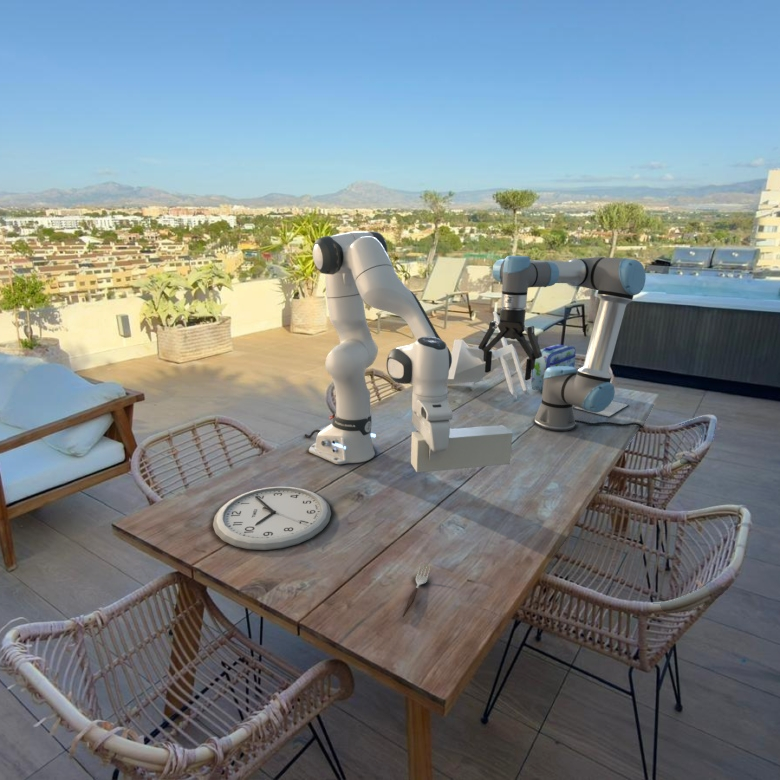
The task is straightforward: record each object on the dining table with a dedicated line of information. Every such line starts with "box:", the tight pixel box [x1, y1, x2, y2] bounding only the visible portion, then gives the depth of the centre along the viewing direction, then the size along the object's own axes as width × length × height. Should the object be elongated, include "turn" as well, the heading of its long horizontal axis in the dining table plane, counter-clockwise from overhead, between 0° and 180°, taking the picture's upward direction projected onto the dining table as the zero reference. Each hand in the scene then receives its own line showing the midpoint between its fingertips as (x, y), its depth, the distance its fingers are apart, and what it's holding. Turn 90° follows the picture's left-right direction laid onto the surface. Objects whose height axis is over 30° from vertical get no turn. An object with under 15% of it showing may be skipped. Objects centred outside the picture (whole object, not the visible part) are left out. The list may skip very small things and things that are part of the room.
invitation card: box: [573, 400, 629, 418], centre depth 226 cm, size 21×1×15 cm
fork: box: [402, 562, 432, 618], centre depth 108 cm, size 3×16×2 cm, turn 160°
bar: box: [410, 424, 513, 474], centre depth 137 cm, size 26×6×9 cm, turn 103°
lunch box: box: [530, 344, 577, 392], centre depth 247 cm, size 26×11×21 cm, turn 134°
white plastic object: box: [447, 310, 531, 400], centre depth 245 cm, size 37×45×31 cm
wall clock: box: [212, 486, 332, 551], centre depth 136 cm, size 30×2×30 cm
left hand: (427, 453), depth 135 cm, fingers closed on bar, 6 cm apart
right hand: (507, 375), depth 165 cm, fingers open, 13 cm apart
